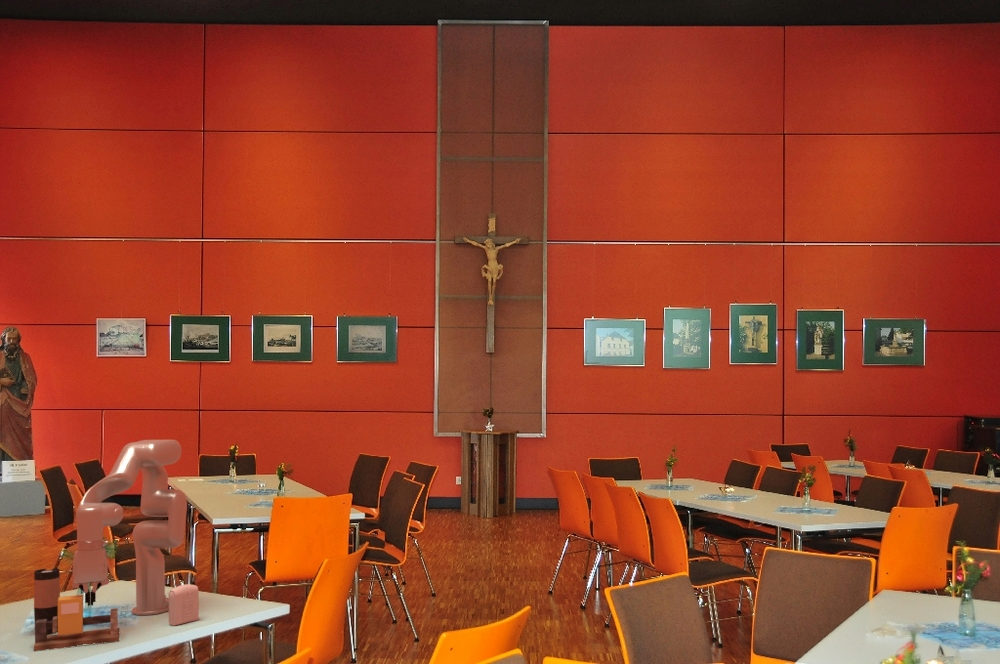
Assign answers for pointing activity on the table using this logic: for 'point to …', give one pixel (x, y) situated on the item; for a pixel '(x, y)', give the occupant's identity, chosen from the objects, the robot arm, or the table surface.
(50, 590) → the travel mug
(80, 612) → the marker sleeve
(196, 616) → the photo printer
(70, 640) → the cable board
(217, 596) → the table surface
